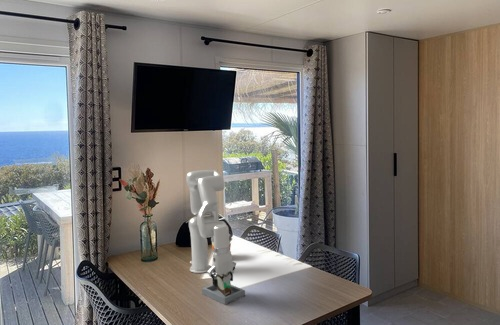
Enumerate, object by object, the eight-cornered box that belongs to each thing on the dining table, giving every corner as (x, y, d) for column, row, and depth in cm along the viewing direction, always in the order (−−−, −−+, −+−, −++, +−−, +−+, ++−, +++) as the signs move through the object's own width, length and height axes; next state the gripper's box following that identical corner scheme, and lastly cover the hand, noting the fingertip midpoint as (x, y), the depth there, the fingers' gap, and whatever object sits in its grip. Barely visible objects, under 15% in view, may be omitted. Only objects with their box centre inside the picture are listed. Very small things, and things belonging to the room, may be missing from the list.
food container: (237, 293, 201) (234, 274, 199) (226, 298, 198) (223, 278, 197) (227, 285, 212) (224, 267, 210) (216, 289, 209) (213, 271, 208)
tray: (202, 293, 206) (201, 288, 206) (222, 286, 215) (222, 280, 214) (224, 304, 193) (224, 298, 192) (245, 296, 202) (244, 290, 201)
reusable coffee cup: (209, 257, 262) (208, 234, 261) (227, 254, 267) (226, 231, 266) (215, 263, 251) (214, 239, 249) (234, 259, 256) (233, 236, 255)
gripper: (212, 255, 193) (213, 290, 195) (239, 247, 205) (240, 280, 206) (203, 252, 198) (204, 286, 200) (230, 244, 210) (231, 276, 212)
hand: (223, 283), depth 203 cm, fingers open, 9 cm apart
